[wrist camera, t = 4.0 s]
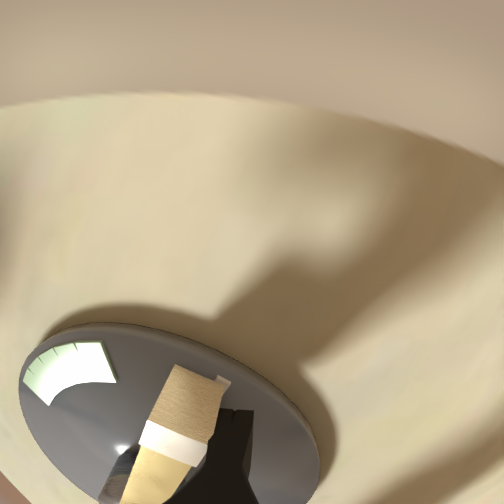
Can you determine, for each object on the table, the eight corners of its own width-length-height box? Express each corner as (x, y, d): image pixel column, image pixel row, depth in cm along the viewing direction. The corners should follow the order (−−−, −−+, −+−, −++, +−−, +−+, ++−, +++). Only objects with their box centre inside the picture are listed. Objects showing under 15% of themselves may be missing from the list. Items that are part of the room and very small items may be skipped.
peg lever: (175, 500, 14) (163, 543, 10) (112, 473, 14) (93, 514, 10) (249, 391, 11) (241, 456, 8) (152, 349, 11) (117, 404, 8)
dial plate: (383, 453, 14) (388, 468, 12) (197, 540, 17) (195, 550, 16) (94, 237, 12) (79, 243, 10) (9, 419, 15) (1, 428, 14)
